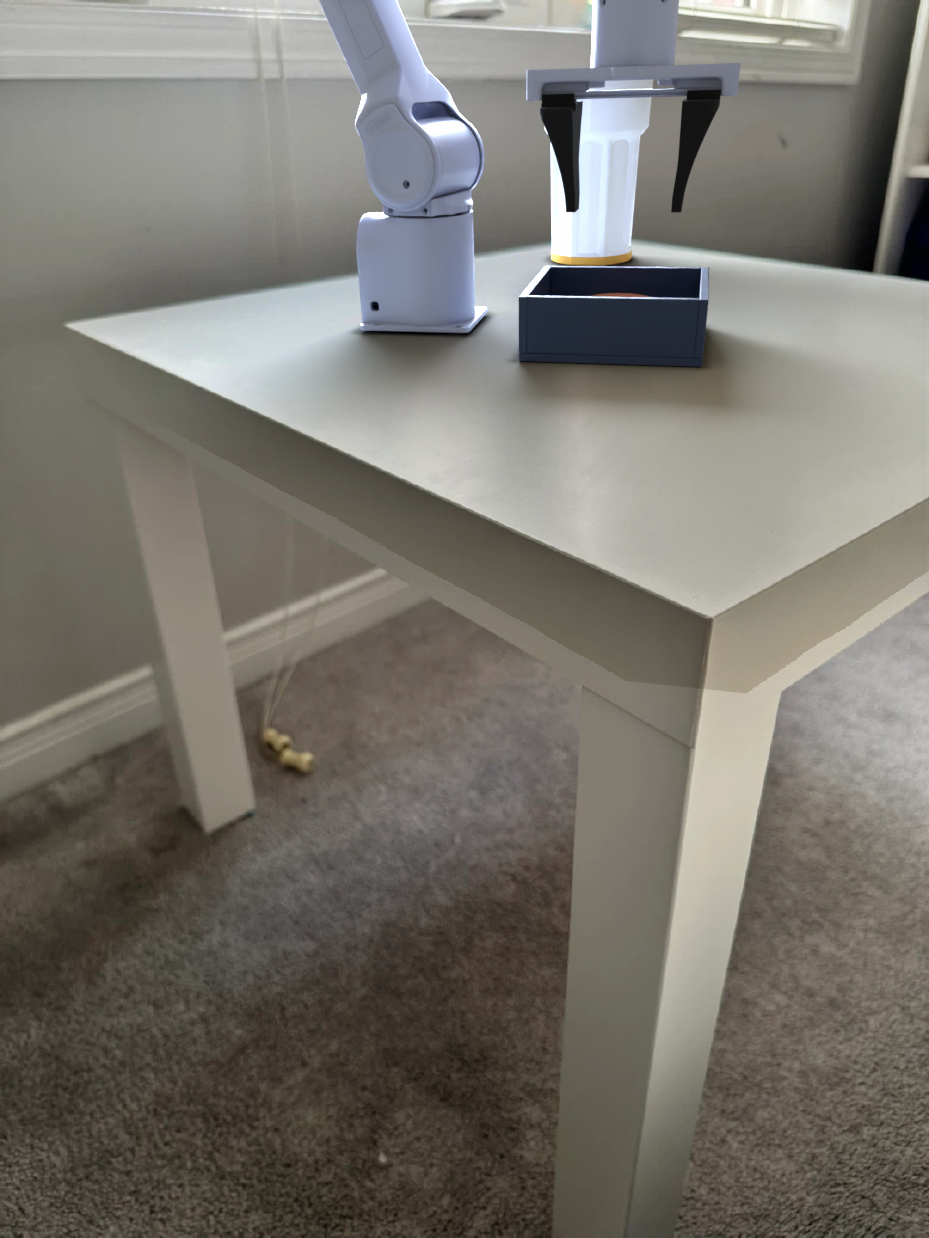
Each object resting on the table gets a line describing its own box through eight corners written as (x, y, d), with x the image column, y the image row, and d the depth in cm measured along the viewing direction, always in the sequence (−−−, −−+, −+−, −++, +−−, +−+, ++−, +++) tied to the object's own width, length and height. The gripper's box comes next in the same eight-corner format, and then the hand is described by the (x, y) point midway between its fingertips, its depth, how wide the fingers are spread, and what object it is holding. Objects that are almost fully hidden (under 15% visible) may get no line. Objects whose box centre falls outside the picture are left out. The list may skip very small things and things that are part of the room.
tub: (518, 361, 67) (518, 296, 65) (543, 322, 77) (544, 265, 75) (701, 367, 65) (708, 300, 62) (703, 326, 75) (709, 267, 72)
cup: (644, 250, 107) (656, 78, 98) (638, 268, 97) (650, 79, 88) (548, 250, 109) (551, 81, 100) (533, 267, 100) (535, 83, 91)
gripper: (518, -9, 59) (517, 218, 66) (750, -22, 56) (724, 218, 63) (537, -3, 65) (534, 205, 72) (748, -13, 62) (724, 205, 69)
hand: (623, 211), depth 68 cm, fingers open, 7 cm apart
